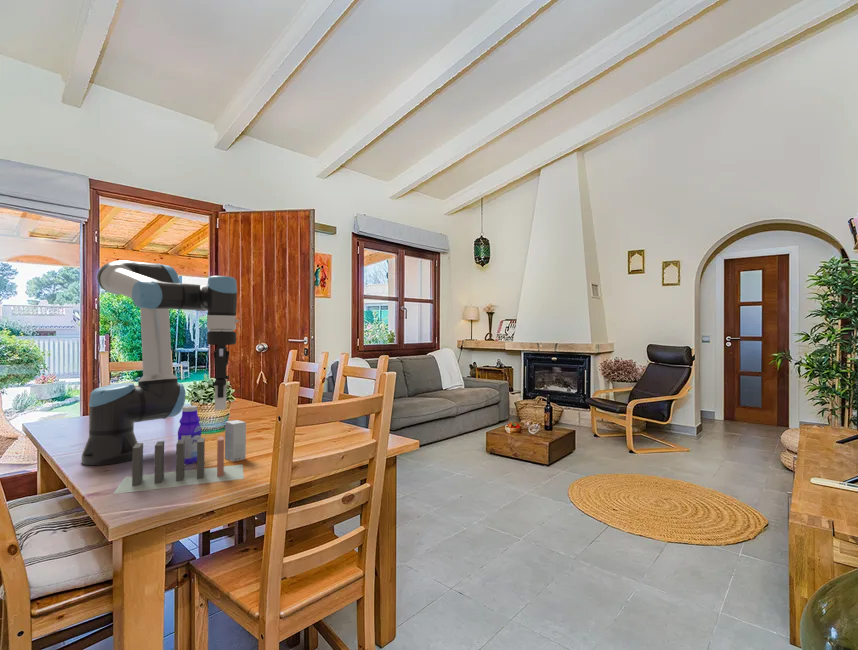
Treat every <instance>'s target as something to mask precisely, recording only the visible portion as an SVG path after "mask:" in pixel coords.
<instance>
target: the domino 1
mask: <svg viewBox="0 0 858 650" xmlns="http://www.w3.org/2000/svg"><path fill="white" fill-rule="evenodd" d="M131 465H132V466H131V467H132V468H131V470H132V471H131V476H132V486H139V485H140V484H141V482H142V480H143V475H144V442H138V443H136V444H135V446H134V447H133V453H132V464H131Z"/></svg>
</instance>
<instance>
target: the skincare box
mask: <svg viewBox="0 0 858 650" xmlns="http://www.w3.org/2000/svg"><path fill="white" fill-rule="evenodd" d="M224 423H225V425H224V459H225V460H228V461H231V462H238V461H243V460H246V459H247V458H246V457H247V456H246V454H247V453H246V452H247V449H246V448H247V447H246V444H247V422H246V421H242V420H240V419H239V420H238V419H237V420H235V419H234V420H227V421H225V422H224Z"/></svg>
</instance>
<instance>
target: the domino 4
mask: <svg viewBox="0 0 858 650" xmlns="http://www.w3.org/2000/svg"><path fill="white" fill-rule="evenodd" d="M205 441H206V439H205V437H201V438H198V441H197V462H196V469H197V479H201V478H203V477H204V469H205V455H206V454H205V451H206V449H205V444H206V443H205Z"/></svg>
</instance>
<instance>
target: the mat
mask: <svg viewBox="0 0 858 650" xmlns="http://www.w3.org/2000/svg"><path fill="white" fill-rule="evenodd" d="M154 475H155V473H151V474H143V480H142V482H141V484H140V485H139V486H132V475H131V476H125V477H124V478H123V479H122V481H121V482H120V483H119V485H118V486H117V488H116V490H115V491H114V492H113V495H117V494H126V493H133V492H134V493H135V492H143V491H150V490H161V489H169V488H177V487H185V486H194V485H201V484H210V483H218V482H226V481H227V482H228V481H237V480H244V479H245V476H244V465H243V463H242V464H235V465H226V466H225V465H224V475H223V476H218V477H217V466H216V467H208V468H207V467H206V468H205V467H204V477H203V478H201V479H197V468H195V469H188V470H187V469H186V470H184V478H183V481H176V471H169V472H164V478H163V481H162V483H158V484H154Z"/></svg>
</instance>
